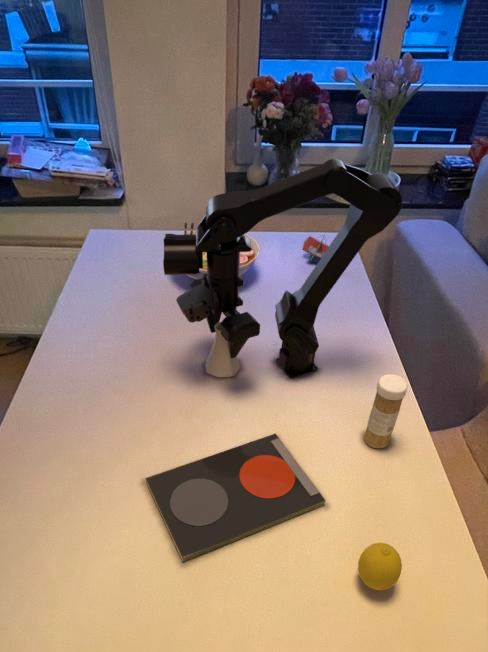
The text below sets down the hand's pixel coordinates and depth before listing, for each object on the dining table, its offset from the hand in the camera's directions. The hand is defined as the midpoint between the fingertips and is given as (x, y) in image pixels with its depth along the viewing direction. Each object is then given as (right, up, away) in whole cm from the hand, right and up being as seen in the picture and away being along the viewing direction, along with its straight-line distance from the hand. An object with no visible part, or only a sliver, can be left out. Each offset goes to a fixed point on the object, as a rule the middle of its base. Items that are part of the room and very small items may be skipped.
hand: (223, 344), depth 103 cm
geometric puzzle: (+25, +27, +37) cm, 53 cm away
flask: (0, -4, +4) cm, 6 cm away
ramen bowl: (-2, +22, +31) cm, 38 cm away
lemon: (+21, -37, -30) cm, 52 cm away
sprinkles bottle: (+27, -19, -10) cm, 34 cm away
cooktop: (+2, -27, -19) cm, 33 cm away
